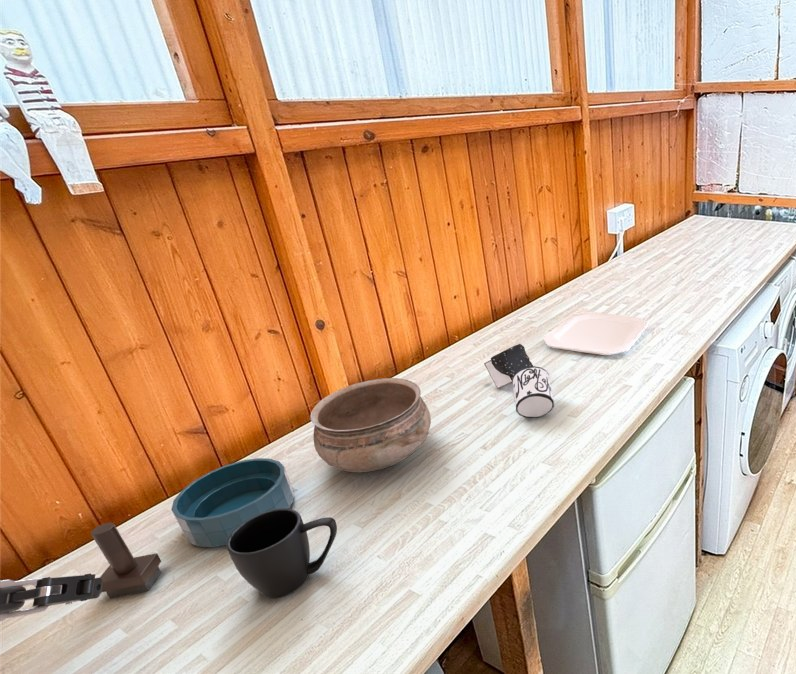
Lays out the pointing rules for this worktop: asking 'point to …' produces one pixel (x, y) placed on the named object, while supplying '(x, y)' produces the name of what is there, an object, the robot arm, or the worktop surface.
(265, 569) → the mug
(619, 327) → the plate
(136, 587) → the brown stamp
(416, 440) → the cooking pot
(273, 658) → the worktop surface
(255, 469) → the bowl
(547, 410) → the black and white cylinder
